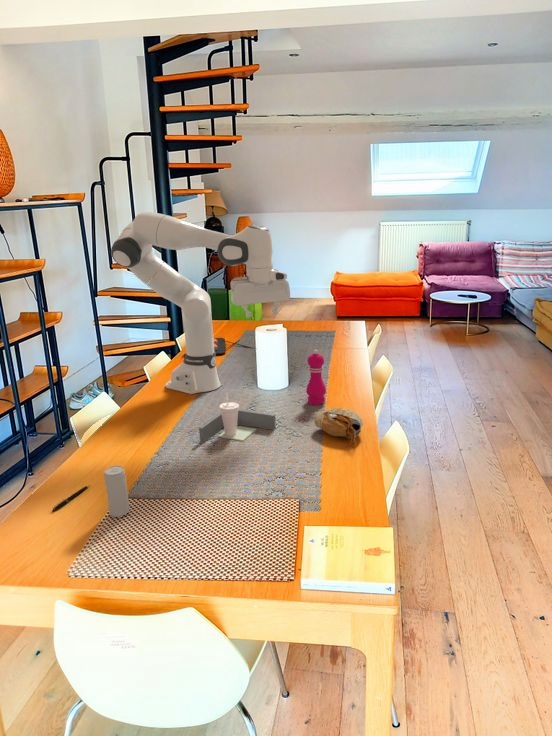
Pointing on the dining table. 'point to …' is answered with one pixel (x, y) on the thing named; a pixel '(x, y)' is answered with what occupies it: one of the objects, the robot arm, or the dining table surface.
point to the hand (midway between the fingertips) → (261, 315)
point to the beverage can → (116, 491)
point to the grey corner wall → (242, 432)
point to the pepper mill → (316, 379)
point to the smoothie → (229, 416)
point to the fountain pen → (68, 499)
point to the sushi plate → (223, 345)
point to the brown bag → (340, 423)
